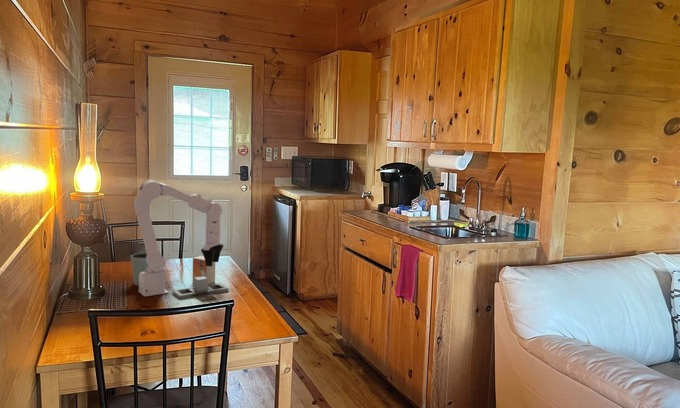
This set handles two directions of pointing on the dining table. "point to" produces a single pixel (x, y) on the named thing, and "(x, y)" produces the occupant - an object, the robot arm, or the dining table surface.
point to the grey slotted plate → (193, 293)
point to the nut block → (200, 284)
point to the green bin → (138, 265)
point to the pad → (206, 297)
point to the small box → (203, 269)
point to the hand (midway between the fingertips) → (212, 263)
